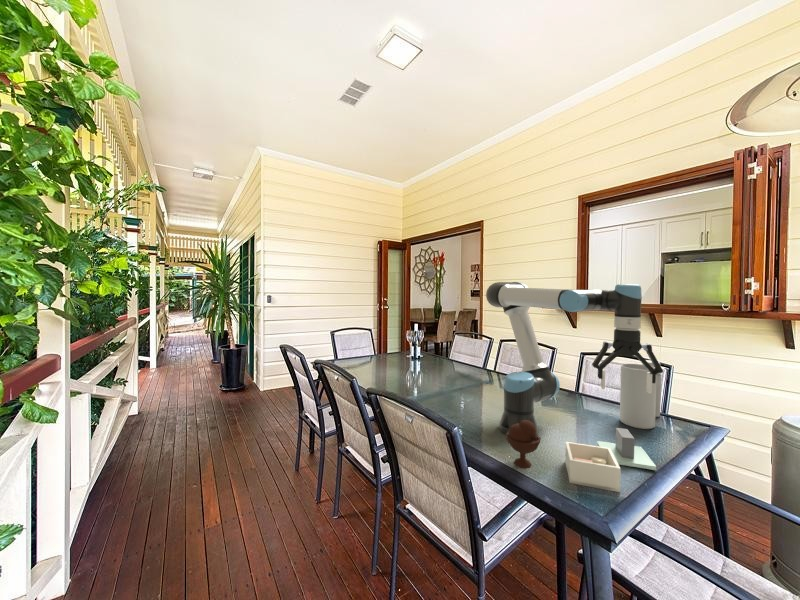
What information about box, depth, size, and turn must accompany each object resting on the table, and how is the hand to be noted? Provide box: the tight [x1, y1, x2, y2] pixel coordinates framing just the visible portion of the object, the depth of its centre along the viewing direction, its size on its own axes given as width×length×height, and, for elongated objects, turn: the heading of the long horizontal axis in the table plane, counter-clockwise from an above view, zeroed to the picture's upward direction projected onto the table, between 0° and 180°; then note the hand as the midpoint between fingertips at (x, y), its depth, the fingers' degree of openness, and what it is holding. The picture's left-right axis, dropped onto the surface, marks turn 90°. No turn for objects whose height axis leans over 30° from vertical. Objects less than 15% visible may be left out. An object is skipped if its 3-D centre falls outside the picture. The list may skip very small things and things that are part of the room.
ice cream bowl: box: [505, 420, 542, 469], centre depth 111 cm, size 11×11×15 cm
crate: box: [564, 441, 622, 493], centre depth 104 cm, size 13×13×7 cm
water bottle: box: [641, 359, 662, 418], centre depth 154 cm, size 9×8×25 cm
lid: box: [596, 427, 657, 471], centre depth 115 cm, size 14×14×9 cm
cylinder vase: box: [619, 363, 656, 430], centre depth 144 cm, size 12×12×25 cm
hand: (625, 390), depth 115 cm, fingers open, 13 cm apart
